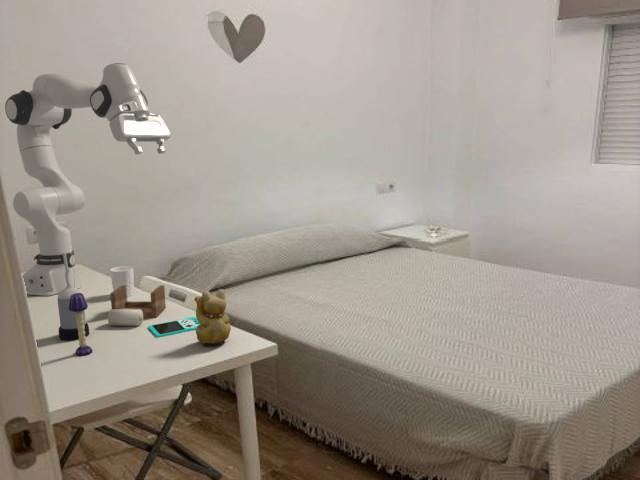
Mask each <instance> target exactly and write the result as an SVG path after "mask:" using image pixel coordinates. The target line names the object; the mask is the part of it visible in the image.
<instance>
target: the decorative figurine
mask: <svg viewBox="0 0 640 480" xmlns="http://www.w3.org/2000/svg"><path fill="white" fill-rule="evenodd" d="M194 302H195V303H196V310H195V317H196V318H197V320H198V322H199V323H200V325H198V326H197V327H196V330H195V334H196V339H197V341H198V342H200V343H202V344H203V346H204V347H206V348H207V347H210V346H211V347H212V346H217V345H223V342H224V341H226V340H227V339H228V338H229V337H230V333H231V329H232V327H231V324H230V322H229V321H230V317H229V315H227V314H226V312H225V310H226V308H227V300H226V292H225V290H224V289H218V290H217V291H216V293H215V294H214V295H212V294H211V293H210V292H209V291H208V290H204V291H202V294H201V296H200V295H197V296H195V298H194Z"/></svg>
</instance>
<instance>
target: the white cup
mask: <svg viewBox="0 0 640 480" xmlns="http://www.w3.org/2000/svg"><path fill="white" fill-rule="evenodd" d="M134 272H135V271H134V267H133V266H130V265H120V266H115V267H112V268H110V269H109V273H110V279H111V284H112V285H111V286H112V288H113V290H112V291H115V290H116V289H117V288H119V287H120V286H122V285H126V293H127V298H130V297H132V296H134V295H135V289H134V288H135V277H134V276H135V275H134V274H135V273H134Z"/></svg>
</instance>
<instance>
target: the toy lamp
mask: <svg viewBox="0 0 640 480" xmlns="http://www.w3.org/2000/svg"><path fill="white" fill-rule="evenodd" d="M88 306H89V305H88V302H87V300H86V298H85V296H84V294H83V293H82V292H81V293H75V294H72V295H71V297H70V303H69V311H72V312H76V319H77V325H78V335H79V340H78V341H79V344H78V345H79V346H78V347H77V348H76V349H75V356H79V357H83V356H84V357H85V356H88V355H91V354H92V353H93V349H92V346H89V345H87V341H86V340H87V337H85V331H84V329H85V326H84V320H83V314H82V313H83V310H84V311H86V310H87V309H88V308H89V307H88Z"/></svg>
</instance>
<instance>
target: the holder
mask: <svg viewBox="0 0 640 480" xmlns="http://www.w3.org/2000/svg"><path fill="white" fill-rule="evenodd" d="M165 292H166V291H165V285H159V286H157V287H156V288H155V289H154V290H153V291H151V293H150V301H148V300H147V301H142V300H141V301H136V300H135V301H130V300H129V301H128V297H127V293H126V285H122V286H120V287H119V288H117V289H116V290H115V291H114V290H112V292H110V296H109V297H110V302H111V303H110V305H111V309H141V310H142V312H143V319H144V318H145V319H146V318H147V319H151V318H152V319H153V318H156V319H157V318H158V317H159V316H160V315H161V314H162V313H163V312H164V311H165V310H166V309H165V308H167V307H166V306H167V305H166V295H165V294H166V293H165ZM164 309H165V310H164Z"/></svg>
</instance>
